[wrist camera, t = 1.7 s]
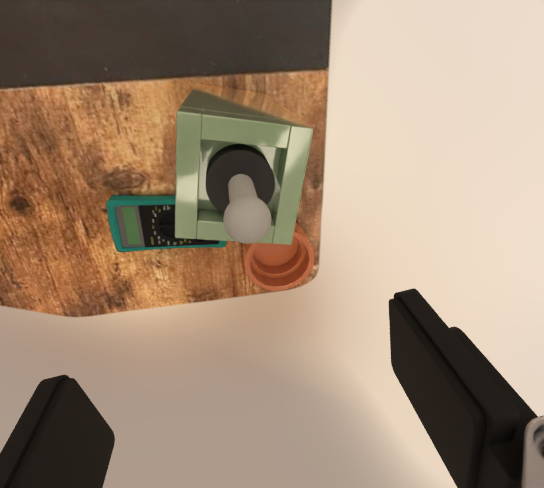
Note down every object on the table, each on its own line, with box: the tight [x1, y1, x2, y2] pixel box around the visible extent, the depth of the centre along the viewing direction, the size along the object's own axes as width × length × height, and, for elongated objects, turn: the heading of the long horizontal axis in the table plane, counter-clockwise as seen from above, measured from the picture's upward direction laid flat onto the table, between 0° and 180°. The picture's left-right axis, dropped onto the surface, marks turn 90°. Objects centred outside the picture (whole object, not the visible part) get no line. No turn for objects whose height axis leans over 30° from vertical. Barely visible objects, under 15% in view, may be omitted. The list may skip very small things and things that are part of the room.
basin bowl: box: [242, 223, 314, 291], centre depth 48 cm, size 9×10×5 cm
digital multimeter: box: [107, 195, 227, 252], centre depth 45 cm, size 7×15×3 cm, turn 88°
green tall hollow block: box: [175, 84, 313, 245], centre depth 32 cm, size 8×8×23 cm
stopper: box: [206, 144, 275, 244], centre depth 20 cm, size 4×4×8 cm
